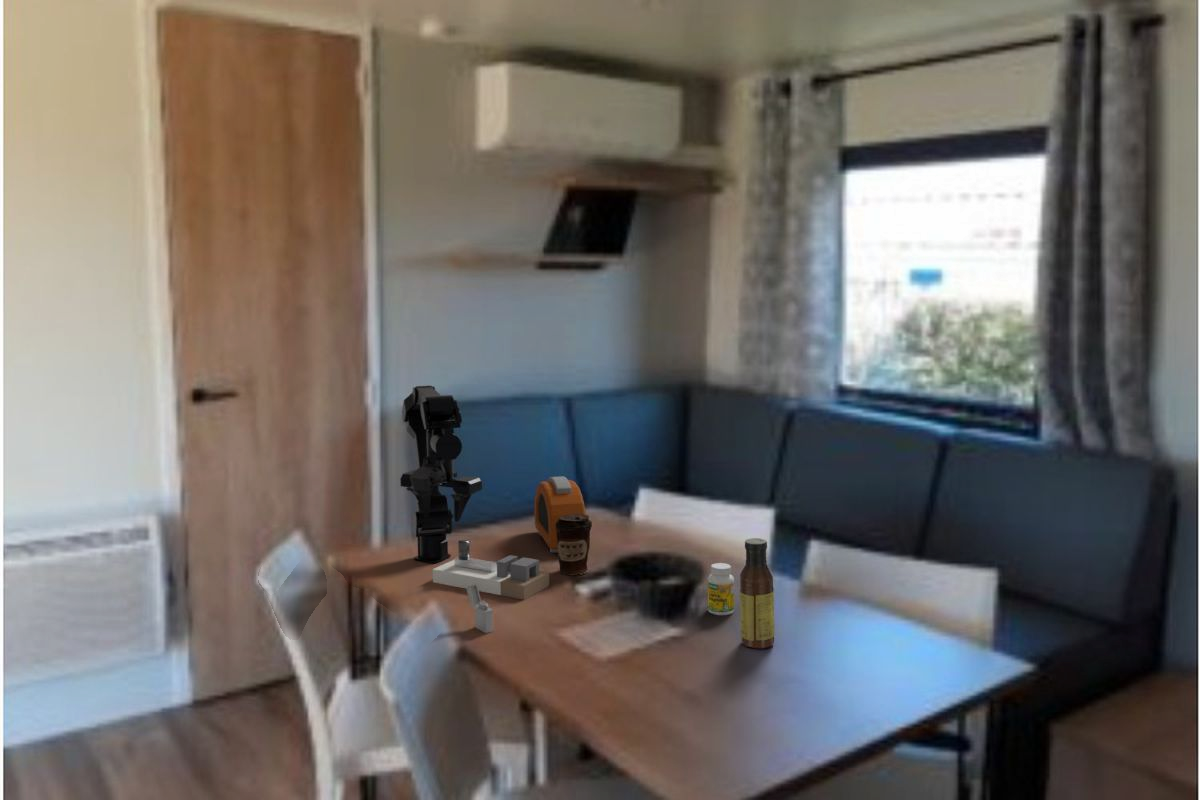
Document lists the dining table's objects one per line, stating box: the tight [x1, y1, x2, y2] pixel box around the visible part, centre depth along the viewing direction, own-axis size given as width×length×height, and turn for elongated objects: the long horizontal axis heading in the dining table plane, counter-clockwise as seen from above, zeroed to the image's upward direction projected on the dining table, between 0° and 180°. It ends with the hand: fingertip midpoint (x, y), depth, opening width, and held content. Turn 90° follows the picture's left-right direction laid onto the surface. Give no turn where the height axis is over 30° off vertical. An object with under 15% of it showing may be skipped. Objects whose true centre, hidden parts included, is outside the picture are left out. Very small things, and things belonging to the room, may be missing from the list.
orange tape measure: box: [534, 475, 587, 553], centre depth 252 cm, size 23×9×17 cm, turn 14°
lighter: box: [465, 584, 494, 634], centre depth 196 cm, size 7×2×8 cm, turn 38°
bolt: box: [453, 539, 497, 572], centre depth 222 cm, size 10×2×6 cm, turn 62°
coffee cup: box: [555, 514, 593, 576], centre depth 229 cm, size 9×8×13 cm
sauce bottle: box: [739, 537, 776, 650], centre depth 186 cm, size 6×6×20 cm
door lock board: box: [432, 554, 550, 600], centre depth 221 cm, size 24×10×6 cm, turn 62°
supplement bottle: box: [707, 562, 735, 616], centre depth 204 cm, size 5×5×10 cm
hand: (441, 519), depth 226 cm, fingers open, 8 cm apart
